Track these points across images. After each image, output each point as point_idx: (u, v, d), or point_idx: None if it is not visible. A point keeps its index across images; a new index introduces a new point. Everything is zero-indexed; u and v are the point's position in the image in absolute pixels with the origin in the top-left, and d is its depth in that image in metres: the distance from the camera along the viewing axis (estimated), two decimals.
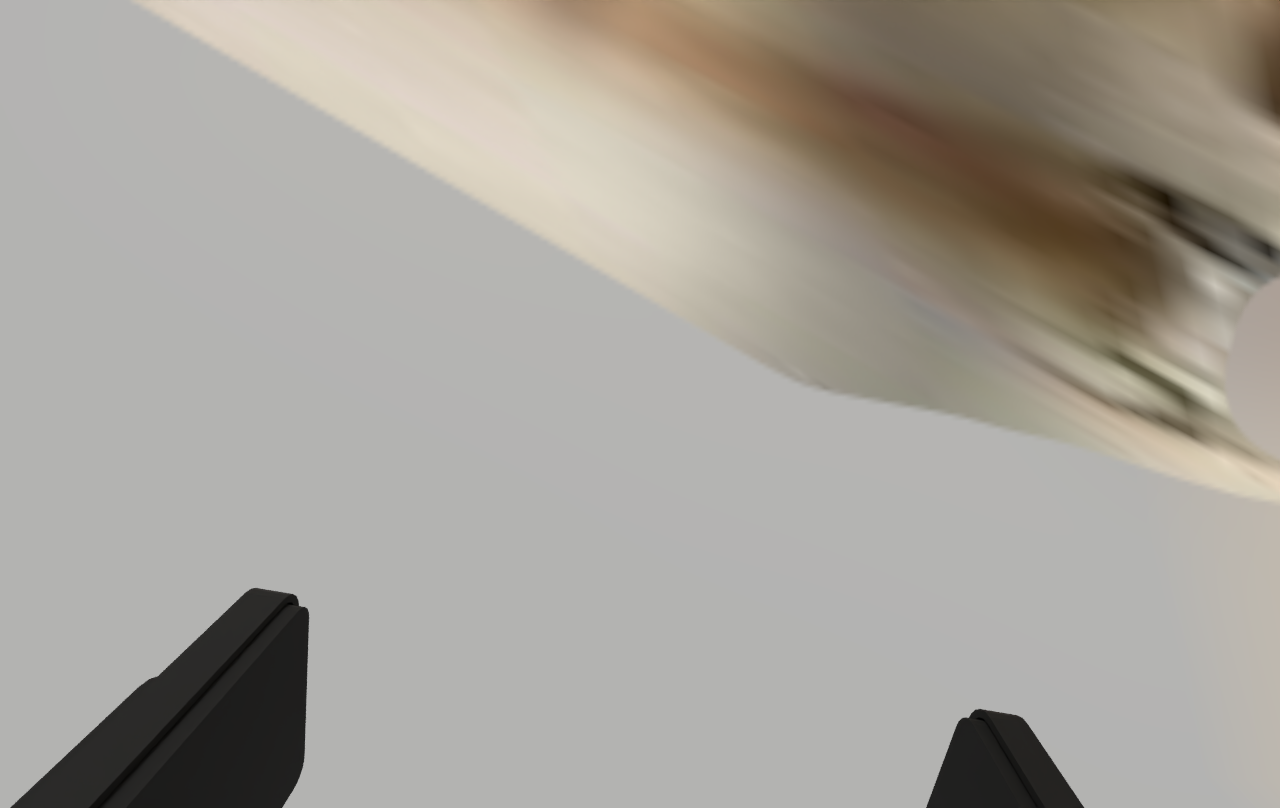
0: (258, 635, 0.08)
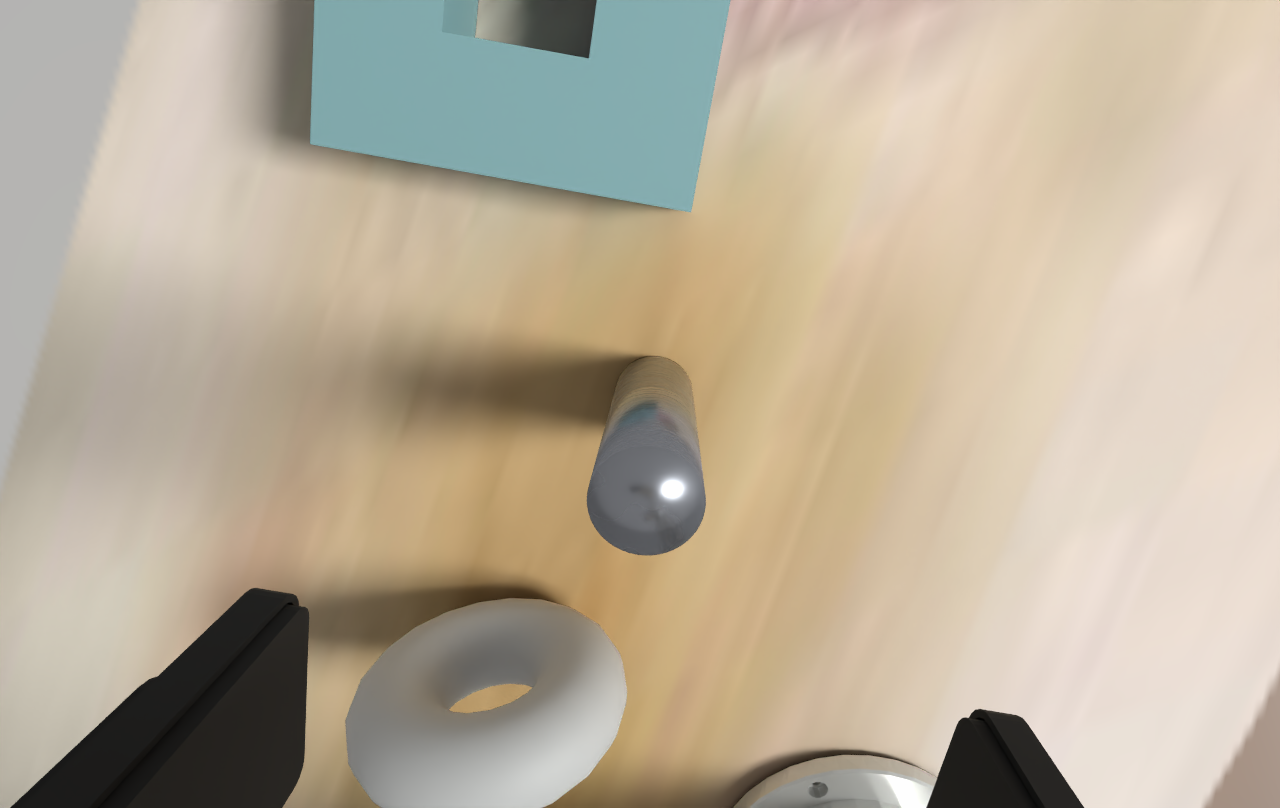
0: (257, 634, 0.08)
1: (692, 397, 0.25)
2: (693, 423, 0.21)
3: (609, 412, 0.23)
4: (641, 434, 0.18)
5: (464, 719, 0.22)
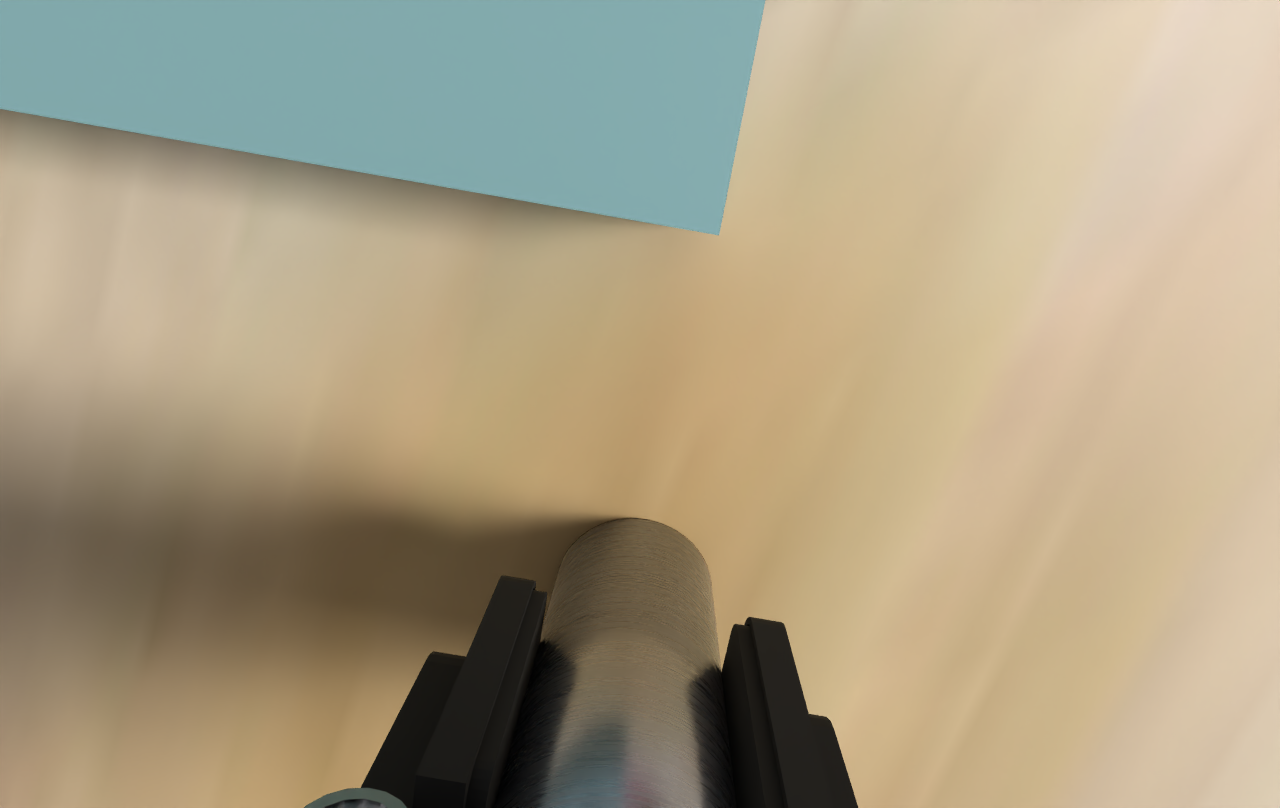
0: (525, 615, 0.10)
1: (714, 636, 0.11)
2: None
3: None
4: None
5: None
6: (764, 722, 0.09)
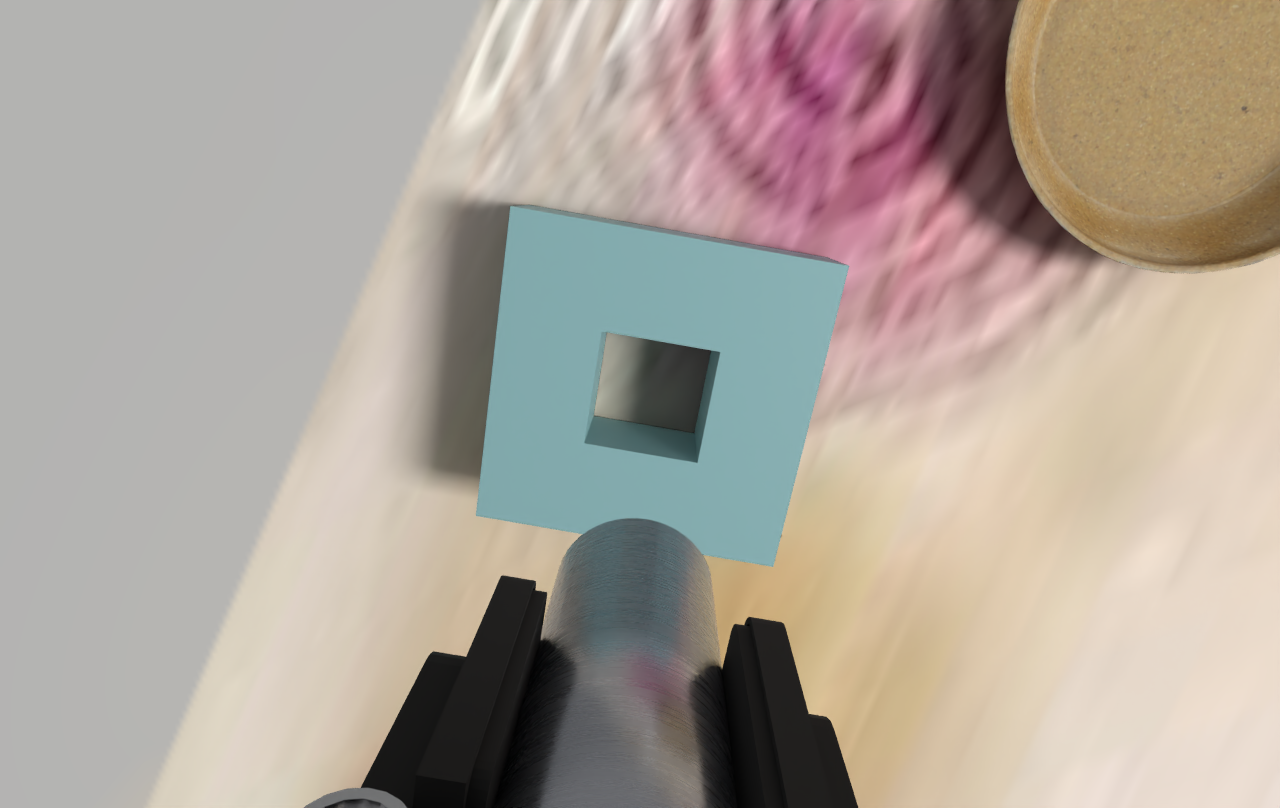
0: (525, 615, 0.10)
1: (715, 636, 0.11)
2: None
3: None
4: None
5: None
6: (764, 722, 0.09)
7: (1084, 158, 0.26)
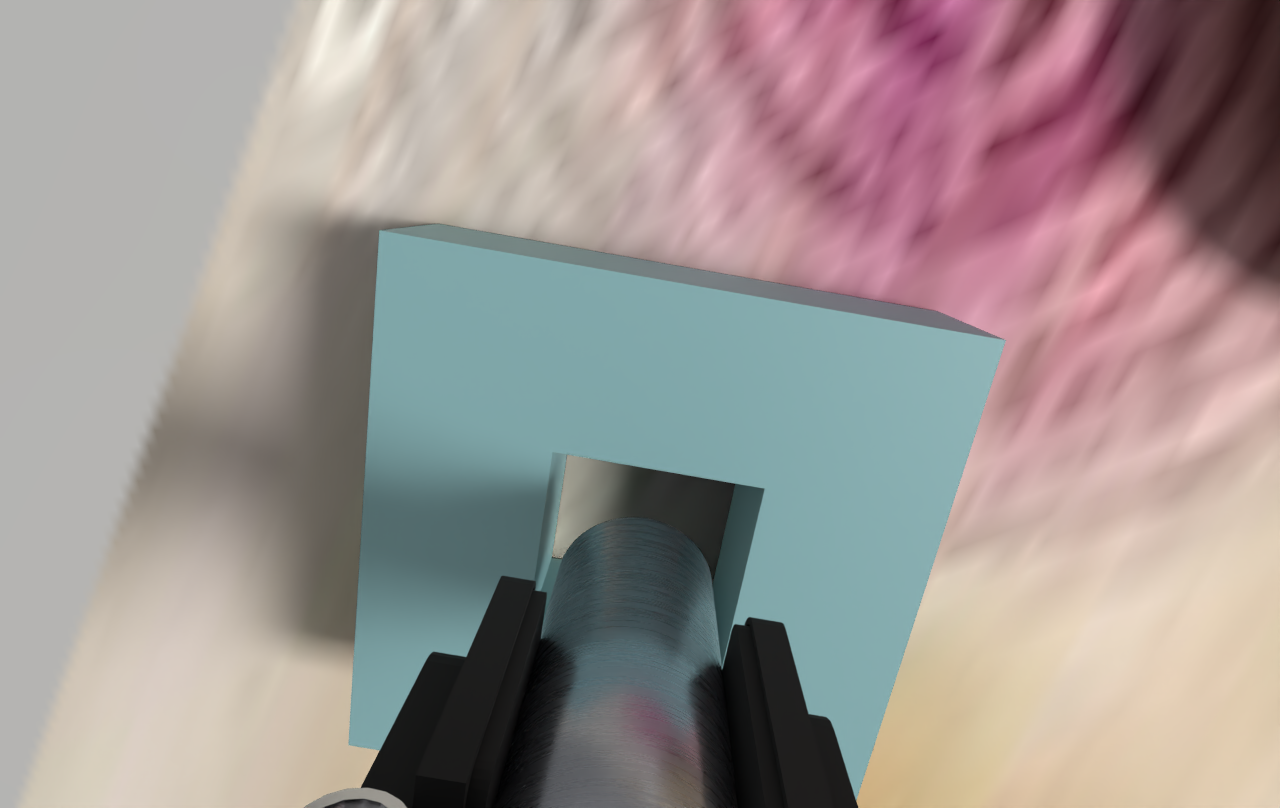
0: (525, 615, 0.10)
1: (715, 635, 0.11)
2: None
3: None
4: None
5: None
6: (764, 722, 0.09)
7: None
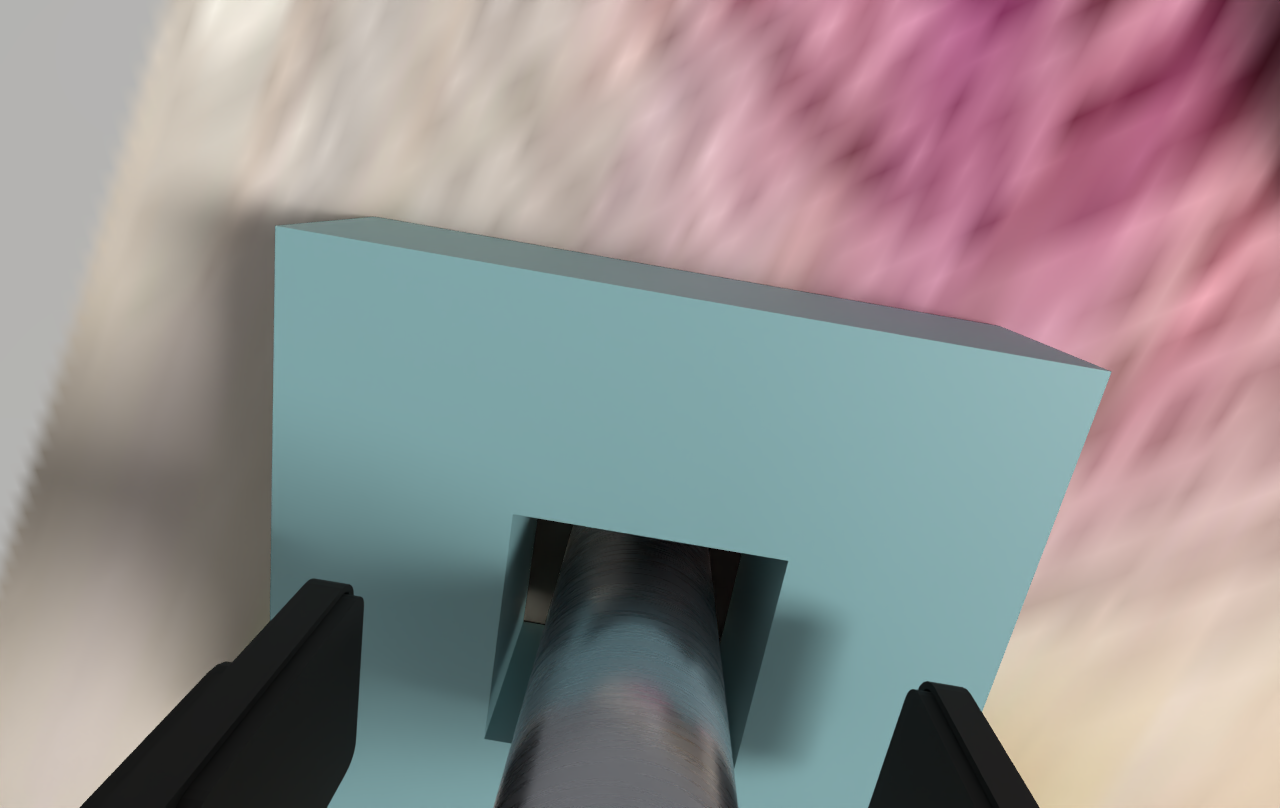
0: (321, 622, 0.09)
1: (710, 586, 0.13)
2: (720, 719, 0.09)
3: (536, 657, 0.11)
4: None
5: None
6: None
7: None
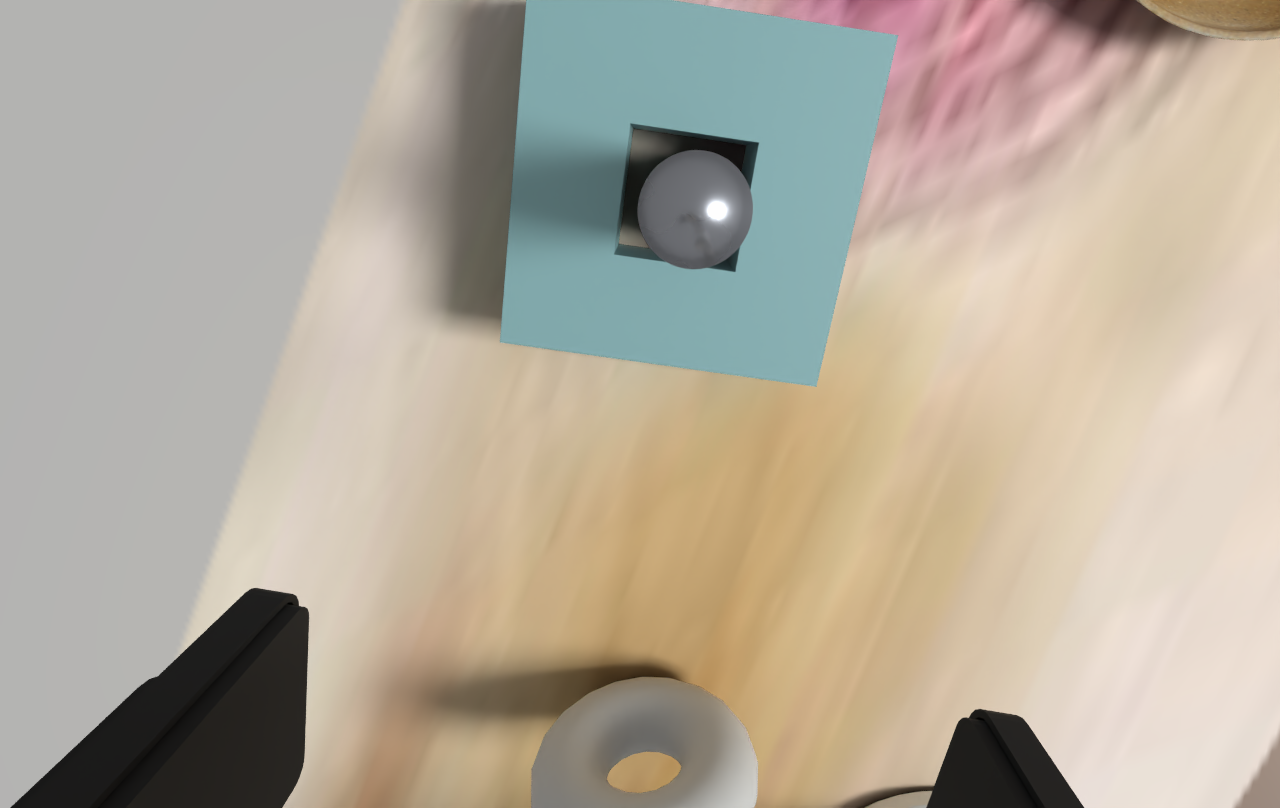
0: (258, 635, 0.08)
1: None
2: None
3: None
4: None
5: (640, 801, 0.28)
6: None
7: None
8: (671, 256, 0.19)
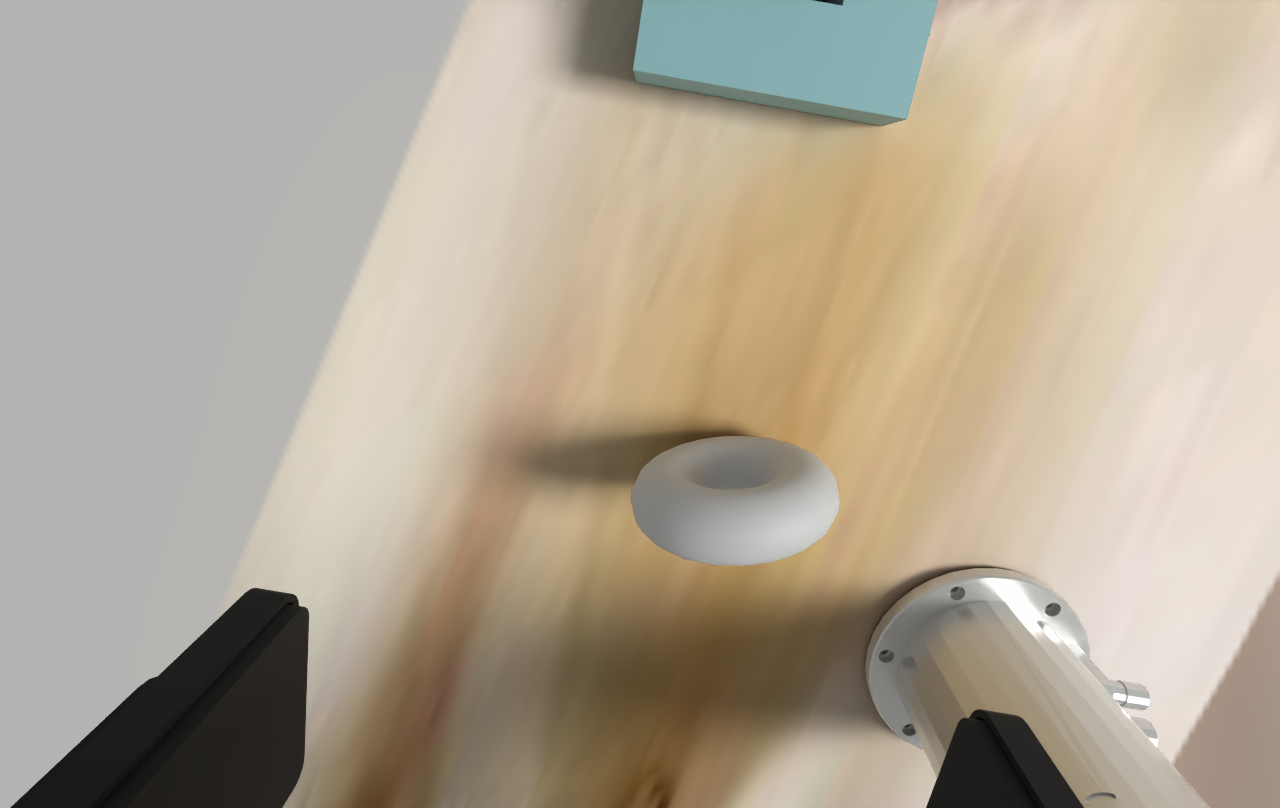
0: (258, 635, 0.08)
1: None
2: None
3: None
4: None
5: (739, 490, 0.31)
6: None
7: None
8: None
